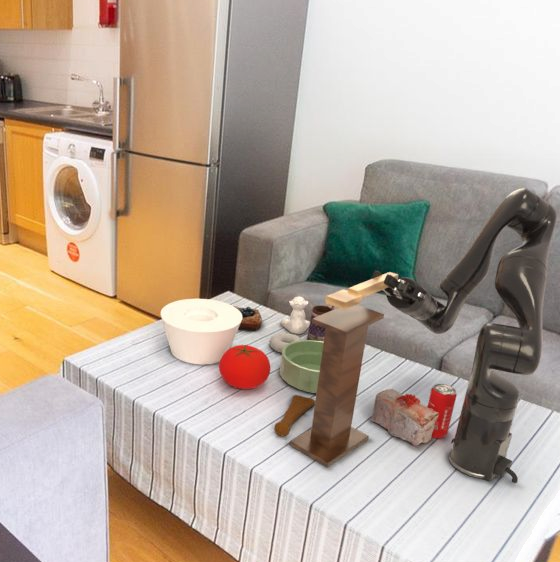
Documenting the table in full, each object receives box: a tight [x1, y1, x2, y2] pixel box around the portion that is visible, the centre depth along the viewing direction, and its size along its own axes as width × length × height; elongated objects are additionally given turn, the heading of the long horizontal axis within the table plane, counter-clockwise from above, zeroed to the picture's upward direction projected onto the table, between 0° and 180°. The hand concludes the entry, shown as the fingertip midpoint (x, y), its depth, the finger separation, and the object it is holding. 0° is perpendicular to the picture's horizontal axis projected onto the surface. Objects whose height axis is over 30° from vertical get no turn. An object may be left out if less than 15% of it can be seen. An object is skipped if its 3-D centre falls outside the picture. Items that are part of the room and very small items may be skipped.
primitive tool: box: [273, 394, 316, 437], centre depth 144 cm, size 19×6×4 cm, turn 150°
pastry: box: [232, 305, 263, 332], centre depth 194 cm, size 11×12×6 cm
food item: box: [371, 388, 439, 447], centre depth 137 cm, size 14×8×10 cm, turn 32°
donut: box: [269, 332, 302, 354], centre depth 178 cm, size 10×4×10 cm
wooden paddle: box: [325, 271, 399, 310], centre depth 125 cm, size 22×4×2 cm, turn 128°
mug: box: [306, 304, 336, 342], centre depth 181 cm, size 10×7×12 cm
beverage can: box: [427, 383, 457, 440], centre depth 137 cm, size 5×5×12 cm
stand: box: [289, 304, 385, 468], centre depth 130 cm, size 10×16×32 cm, turn 128°
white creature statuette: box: [280, 296, 310, 335], centre depth 189 cm, size 10×9×12 cm
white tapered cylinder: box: [160, 298, 242, 365], centre depth 175 cm, size 24×24×12 cm
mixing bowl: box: [279, 339, 324, 394], centre depth 161 cm, size 19×19×7 cm
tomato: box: [218, 344, 271, 390], centre depth 158 cm, size 14×13×10 cm
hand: (381, 277), depth 127 cm, fingers closed on wooden paddle, 2 cm apart
